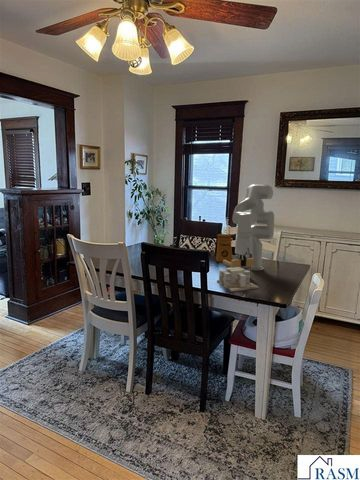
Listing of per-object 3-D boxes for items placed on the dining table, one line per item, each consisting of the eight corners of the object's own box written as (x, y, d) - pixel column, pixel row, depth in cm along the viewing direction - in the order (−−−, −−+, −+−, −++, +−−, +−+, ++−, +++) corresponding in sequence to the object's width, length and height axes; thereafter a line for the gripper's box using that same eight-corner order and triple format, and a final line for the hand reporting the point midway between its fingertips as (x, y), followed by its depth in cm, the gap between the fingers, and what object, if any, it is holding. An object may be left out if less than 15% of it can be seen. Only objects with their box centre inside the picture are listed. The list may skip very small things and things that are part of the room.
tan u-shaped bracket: (222, 262, 203) (222, 255, 202) (243, 261, 207) (243, 254, 207) (232, 267, 191) (232, 260, 190) (253, 266, 196) (254, 258, 195)
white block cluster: (216, 281, 208) (217, 267, 206) (242, 279, 214) (242, 265, 212) (231, 291, 190) (231, 275, 188) (258, 288, 196) (259, 273, 194)
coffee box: (251, 277, 217) (252, 254, 214) (243, 278, 215) (244, 254, 212) (243, 274, 225) (244, 251, 223) (235, 275, 223) (236, 251, 220)
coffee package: (232, 263, 254) (233, 235, 249) (215, 262, 255) (216, 234, 251) (231, 260, 263) (232, 233, 259) (216, 259, 265) (216, 232, 261)
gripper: (231, 233, 197) (230, 263, 200) (245, 237, 182) (243, 269, 186) (242, 232, 199) (241, 262, 203) (256, 236, 185) (255, 268, 188)
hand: (242, 265), depth 194 cm, fingers closed on tan u-shaped bracket, 1 cm apart
